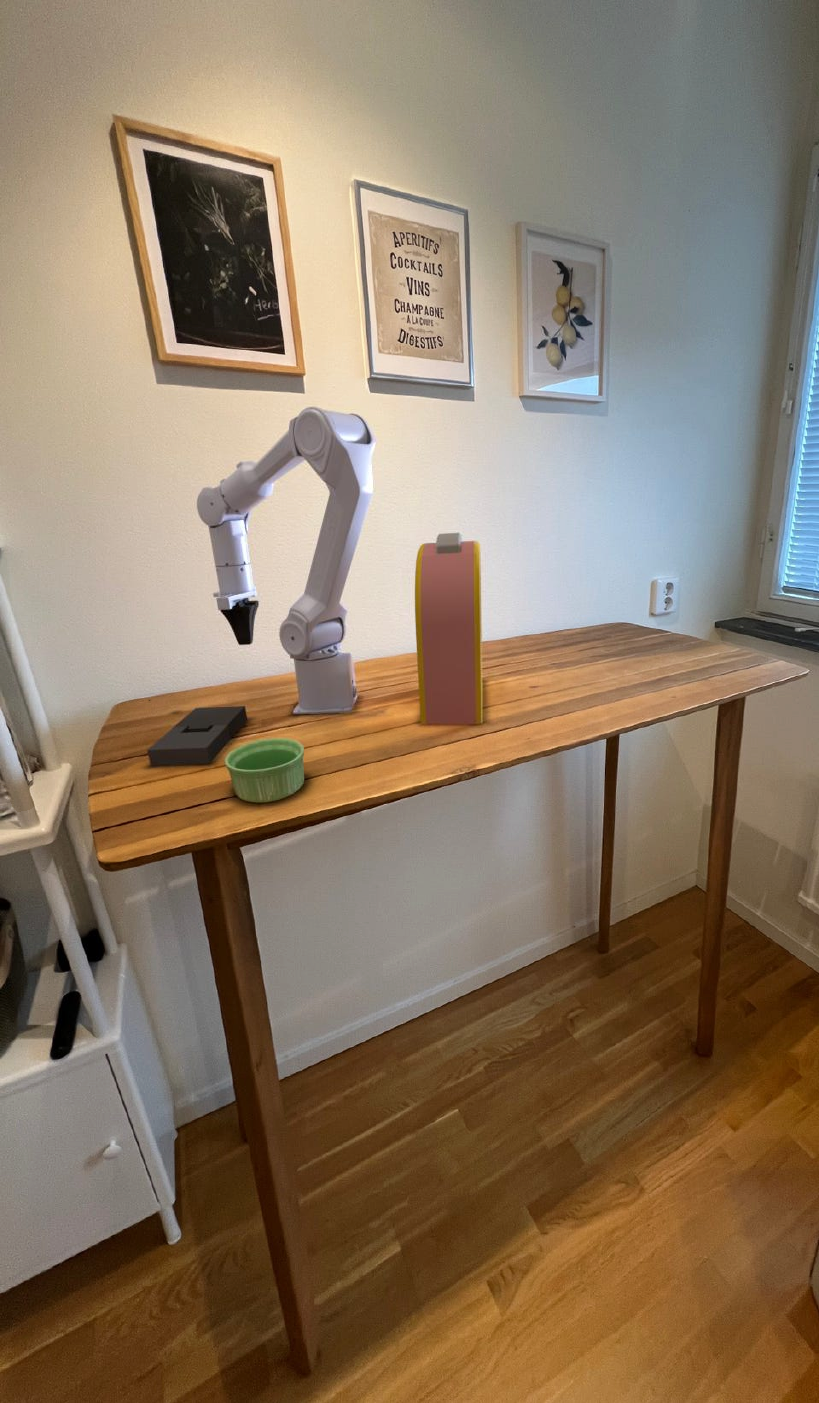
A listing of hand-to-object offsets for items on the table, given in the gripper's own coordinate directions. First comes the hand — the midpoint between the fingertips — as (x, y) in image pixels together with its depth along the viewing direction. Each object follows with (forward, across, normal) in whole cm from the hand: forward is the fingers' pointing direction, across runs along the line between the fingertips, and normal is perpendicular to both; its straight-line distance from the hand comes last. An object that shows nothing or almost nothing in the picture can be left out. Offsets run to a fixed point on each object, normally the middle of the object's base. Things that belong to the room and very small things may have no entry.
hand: (245, 643), depth 96 cm
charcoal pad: (+9, +25, -1) cm, 27 cm away
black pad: (+9, +17, -1) cm, 19 cm away
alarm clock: (+10, +8, +36) cm, 38 cm away
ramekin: (+10, +36, +13) cm, 39 cm away
